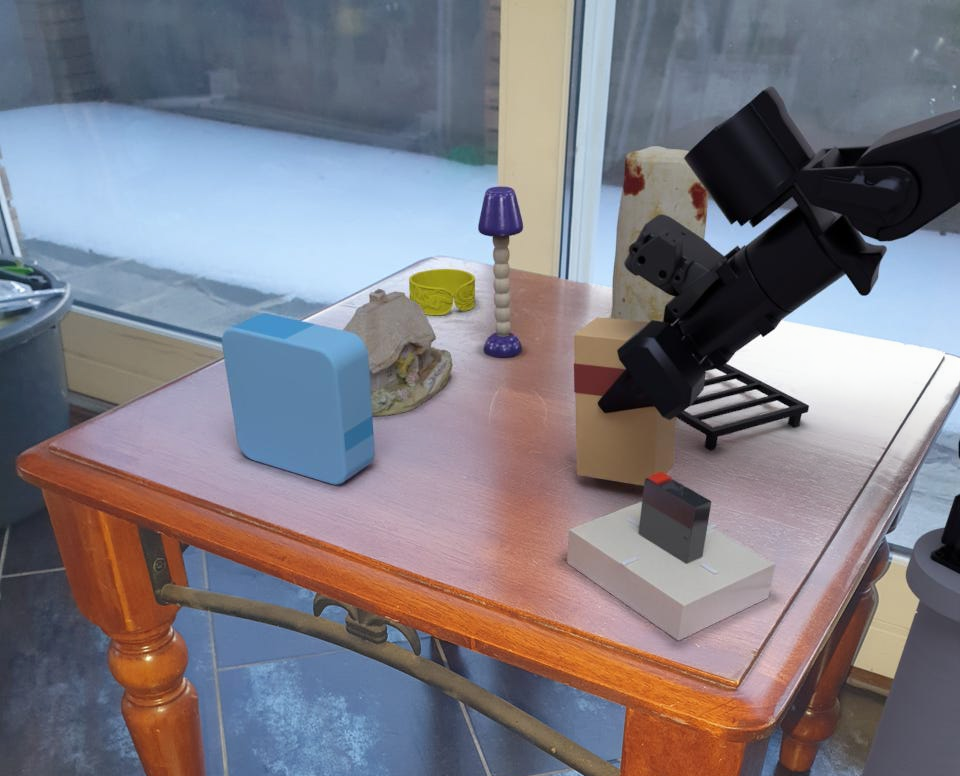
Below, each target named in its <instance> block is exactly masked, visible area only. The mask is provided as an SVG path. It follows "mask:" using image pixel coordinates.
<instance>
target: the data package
mask: <svg viewBox="0 0 960 776" xmlns="http://www.w3.org/2000/svg"><path fill="white" fill-rule="evenodd" d="M221 347H222V353H223V359H224V366H225V372H226V378H227V384H228V385H227V386H228V390H229V398H230V403H231V409H232V410H231V411H232V416H233V423H234V427H235V428H234V430H235V435H236V441H237V444H238V445H237V446H238V448H240V451H241V452H242V453H243V455H245V456H246V457H247V458H248V459H250V460H252V461H255V462H257V463H261V464H264V465H267V466H271V467H274V468H277V469H280V470H285V471H288V472H291V473H293V474H297V475H301V476H304V477H308V478H310V479H314V480H317V481H321V482H324V483H327V484H331V485H335V486H336V485H337V486H338V485H341V484H343V483H344V482H346V481H347V480H349V479H350V478H352V477H353V476H354V475H356V474H357V473H359V472H360V471H362V470H363V469H365V468H366V467H368V466H369V465H370V464H372V463H373V461H374V459H375V455H376V452H375V451H376V448H375V438H374V437H375V435H374V420H373V416H372V404H371V389H370V374H369V359H368V351H367V348H366V346H365V344H364V342H363V341H362V339H361V338H360V337H359V336H357V335H356V334H354V333H352V332H348V331H343V329H339V328H334V327H329V326H325V325H321V324H316V323H313V322H312V323H311V322H307V321H303V320H298V319H294V318H290V317H285V316H281V315H276V314H272V313H269V312H267V313H266V312H262V313H260V314H257V315H255V316H253V317H251V318H248V319H246V320H244V321H242V322H240V323H237V324H235V325H233V326H230V327H228V328H226V329H225V330H224V332H223V333H222V337H221Z"/></svg>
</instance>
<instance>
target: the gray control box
mask: <svg viewBox="0 0 960 776" xmlns="http://www.w3.org/2000/svg"><path fill="white" fill-rule="evenodd" d="M641 502H642V507H641V515H640V524H639V534H640V535H642V536H643V537H645V538H647V539H648V540H650V541H651V542H653V543H655V544H656V545H658V546H659V547H661V548H663V549H664V550H666V551H667V552H669V553H671V554H672V555H674V556H675V557H677V558H679V559H680V560H682V561H683V562H685V563H689V562H691V561H693V560H696V559H698V558H700V557H702V556H703V551H704V544H705V538H706V532H707V526H708V525H709V520H710V512H711V507H712V503H713V502H712V500H710V499H709V498H708V497H706V496H703V495H701V494H699V493H698V492H696V491H694V490H693V489H691V488H689V487H687V486H685V485H684V484H681V483H680V482H678V481H677V480H674V479H673V478H672V476H671V475H669V474H668V473H667V474H665V473H664V472H659V473H656V474H654V475H651V476H649V477H648V478H646V479H645V481H644V486H643V491H642V499H641Z"/></svg>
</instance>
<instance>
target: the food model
mask: <svg viewBox="0 0 960 776" xmlns="http://www.w3.org/2000/svg"><path fill="white" fill-rule="evenodd" d="M689 151H690V150H686V149H675V148H674V149H673V148H666V147H664V146H659V145H652V146H649V147H646V148H643V149H640V150H635V151H632V152H630V153H627V155H626V157H625V160H624V174H623V184H622V190H621V195H620V201H619V206H618V215H617V223H616V237H615V238H616V239H615V253H614V261H613V270H612V285H611V286H612V288H611V289H612V293H611V294H612V295H611V299H612V301H611V304H612V305H611V313H610V318H612V319H623V320H634V321H646V322H650V321H651V320H655V321H662V322H663V318H664V311H665V306H666V304H667V303H668V302H670V301H671V300H672V299H673V298H674V297H675V296H671V295H669V294H667V293H665V292H664V291H662V290H661V289H659V288H658V287H656V286H654V285H653V284H651V283H650V282H648V281H647V280H645V279H644V278H642V277H641V276H639V275H638V276H635V275H634V274H632V273H631V272H630V271H628V270H627V269H626V267H625V265H624V262H625V260H626V258H627V256H628V255H629V247H630V245H631V244H633V243H634V242H635V241H636V240H637V238H638V236H639V234H640V233H641V231H642V229H643V227H644V225H645V224H646V223H648V222H649V221H651V220H652V219H653V218H655V217H656V216H657V215H660V214H662V215H666V216H669V217H671V218H672V219H674V220H675V221H677V222H678V223H680V224H681V225H683V226H684V227H686V228H687V229H689V230H690V231H692V232H693V233H695V234H696V235H698V236H699V237H701V238H702V239H704V240H705V238H706V230H707V229H706V227H707V219H708V218H707V217H708V205H709V193H708V192H707V190H706V189H705V187H704V186H703V185H702V183H701V182H700V180H699V179H698V178H697V176H696V175H695V173H694V172H693V171H692V169H691V168H690V166H689V165H688V164H687V162H686V161H685V159H684V157H685V156H686V154H687V153H688V152H689Z"/></svg>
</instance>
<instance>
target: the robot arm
mask: <svg viewBox="0 0 960 776" xmlns="http://www.w3.org/2000/svg"><path fill="white" fill-rule="evenodd" d="M688 151H689V152H688V153H687V154H686V156H685V157H684V159H685V161H686V162H687V164H688V165H689V166H690V168H691V169H692V171H693V172H694V173H695V175H696V176H697V178H698V179H699V180H700V182H701V183H702V185H703V186H704V187H705V189H706V190H707V192H708V195H709V196H710V197H711V199H712V201H713V202H714V203H715V205H716V206H717V207H718V209H719V210H720V211H721V213H722V214H723V215H724V217H725V219H726V220H727V221H728V223H729V224H730V225H731V226H732V225H733V224H735V223H736V222H737V223H738V225H739V226H740V227H743V226H744V225H745V224H747V223H748V224H749V225H750V226H751V227H752V228H755V227H756V226H758V225H759V224H761V223H762V222H763V221H764V220H766V219H767V218H768V217H769V216H770V215H772V214H773V213H774V212H775V211H777V210H778V209H780V208H781V207H782V206H783V205H784V204H785V203H787V202H788V201H789V200H790V199H791V198H792V199H793V200H794V202H795V204H796V206H794V207H793V208H792V209H790V210H789V211H788V212H787V213H786V214H784V215H783V216H782V217H780V218H779V219H778V220H777V221H776V222H774V223H773V224H772V225H770V226H769V227H768V228H766V229H765V230H764V231H763V232H762V233H760V234H759V235H758V236H757V237H755V238H754V239H753V240H751V241H750V242H749V243H747V244H746V245H745V244H744V245H743V246H741V247H740V246H739V245H736V246H735V247H734V248H732V249H731V250H730V251H728V252H727V253H726V254H725V255H724V254H722V253H721V252H720V251H718V250H717V249H716V248H714V247H713V246H712V245H711V244H710V243H709V242H708V241H707V240H705V238H704V239H702V238H701V237H699V236H698V235H696V234H695V233H693V232H692V231H690V230H689V229H687V228H686V227H684V226H683V225H681V224H680V223H678V222H677V221H675V220H674V219H672V218H671V217H669V216H666V215H662V214H660V215H657V216H656V217H655V218H653V219H652V220H651V221H649V222H648V223H646V224H645V225H644V227H643V229H642V231H641V233H640V234H639V236H638V238H637V240H636V241H635V242H634V243H633V244H631V245H630V247H629V255H628V256H627V258H626V260H625V262H624V265H625V267H626V269H627V270H628V271H630V272H631V273H632V274H634V275H635V276H638V275H639V276H641V277H642V278H644V279H645V280H647V281H648V282H650V283H651V284H653V285H654V286H656V287H658V288H659V289H661V290H662V291H664V292H665V293H667V294H669V295H671V296H675V297H674V298H673V299H672V300H671V301H670V302H668V303H667V304H666V306H665V311H664V318H663V322H662V321H655V320H651V321H650V322H649V323H648V324H646V325H645V326H644V327H642V328H641V329H640V330H639V331H638V332H636V333H635V334H634V335H633V336H632V337H630V338H629V339H628V340H627V341H626V342H625V343H624V344H623V345H622V346H621V347H620V348H619V349H618V350H617V353H618V357H619V360H620V361H621V363H622V364H623V365H624V367H625V368H626V369H625V370H624V372H623V373H622V374H621V375H620V376H619V378H618V379H617V380H616V381H615V382H614V383H613V385H612V386H611V387H610V388H609V389H608V390H607V392H606V393H605V394H604V395H603V396H602V398H601V399H600V400H599V401H598V406H599V407H600V408H601V410H602V411H603V412H604V413H612V412H619V411H625V410H632V409H638V408H646V407H654V406H655V408H656V409H657V410H658V412H659V413H660V414H661V416H662V417H664V418H666V419H668V420H671V419H672V418H674V417H675V416H677V415H678V414H680V413H681V412H683V411H687V409H689V408H690V407H692V406H691V404H692V403H693V402H694V401H695V399H696V398H697V397H700V394H701V393H703V391H704V389H705V387H704V383H705V380H706V375H707V371H705V370H704V368H707V367H710V366H712V365H714V366H715V367H716V369H715V370H717V369H719V368H720V367H722V366H723V365H725V364H728V363H729V361H730V360H731V359H732V358H733V357H734V355H735V354H736V353H737V352H738V351H740V350H741V349H742V348H744V347H745V346H747V345H749V344H750V343H751V342H753V341H754V340H755V339H756V338H758V337H759V336H761V337H762V338H765V337H766V336H767V335H768V334H770V333H771V332H773V331H774V330H776V328H777V327H778V325H780V324H781V322H782V320H784V319H785V318H786V317H788V316H789V315H791V314H792V313H794V311H796V310H798V309H799V308H800V307H802V306H804V304H806V303H807V302H809V301H810V300H812V299H813V298H814V297H816V296H817V295H818V294H820V293H822V292H823V291H824V290H825V289H827V288H828V287H830V286H831V285H833V284H835V282H837V281H838V280H840V279H841V278H843V277H844V276H846V278H848V280H849V281H850V282H851V284H852V285H853V287H854V289H855V290H856V291H857V292H858V294H859V295H860V296H862V297H866V296H868V295H870V293H871V292H872V290H873V288H874V286H875V285H876V283H877V281H878V280H879V272H880V267H881V263H882V260H883V259H884V257H885V255H886V253H887V251H888V248H887V246H886V245H883V244H881V245H878V244H873V243H869V242H867V241H866V240H865V239H864V237H868V238H870V239H873V240H876V241H878V242H881V243H882V242H893V241H896V240H900V239H903V238H906V237H908V236H910V235H912V234H914V233H915V232H917V231H919V230H920V229H921V228H923V227H925V226H926V225H928V224H929V223H932V221H934V220H935V219H937V218H939V217H940V216H942V215H943V214H944V213H946V212H947V211H950V210H951V209H952V208H953V207H955V206H957V205H958V204H960V109H956V110H951V111H947V112H944V113H941V114H938V115H935V116H931V117H928V118H926V119H923V120H920V121H916V122H913V123H911V124H908V125H905V126H902V127H898V128H895V129H892V130H891V131H888V132H886V133H885V134H883V135H881V137H879V138H877V139H876V140H875V141H874V142H873V143H872V144H870V145H857V146H856V145H855V146H841V147H837V146H834V147H824V148H821V149H819V150H818V151H817V152H816V153H815V151H814V150H813V148H812V147H811V145H810V144H809V142H808V140H807V139H806V138H805V136H804V134H802V132H801V130H800V129H799V128H798V126H797V125H796V123H795V122H794V121H793V119H792V117H791V116H790V114H789V112H788V109H787V107H786V104H785V102H784V100H783V98H782V97H781V95H780V93H778V91H777V90H776V88H775V87H774V86H768V87H766V88H765V89H763V90H761V91H760V92H758V94H757V95H756V96H755V97H754V98H752V100H751V101H749V102H748V103H747V104H745V106H743V107H742V108H740V109H739V110H738V111H737V112H736V113H734V114H733V115H732V116H731V117H728V118H727V119H725V120H724V121H722V122H721V123H719V124H718V125H716V126H715V127H714V128H712V129H711V130H710V131H709V132H708V133H707V134H706V135H705V136H704V137H702V139H700V141H698V142H697V143H696V144H695V145H694V146H693V147H692V148H691V149H690V150H688ZM835 213H836V214H835ZM863 236H864V237H863ZM671 324H672V325H671ZM957 449H958V450H957V451H958V458H959V460H960V438H959V440H958V447H957ZM944 527H945V528H944ZM944 527H943V528H944V531H943V534H942V537H941V543H942V544H944V546H942V547H940V548H938V549H936V550H934V551H933V552H932V553H931V556H930V558H931V560H933V561H935V562H937V563H939V564H941V565H943V566H945V567H947V568H949V569H951V570H953V571H955V572H957V573H959V574H960V493H958V494H956V495H955V496H954V498H953V501H952V504H951V508H950V510H949V513H948V516H947V520H946V522H945V525H944Z"/></svg>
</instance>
